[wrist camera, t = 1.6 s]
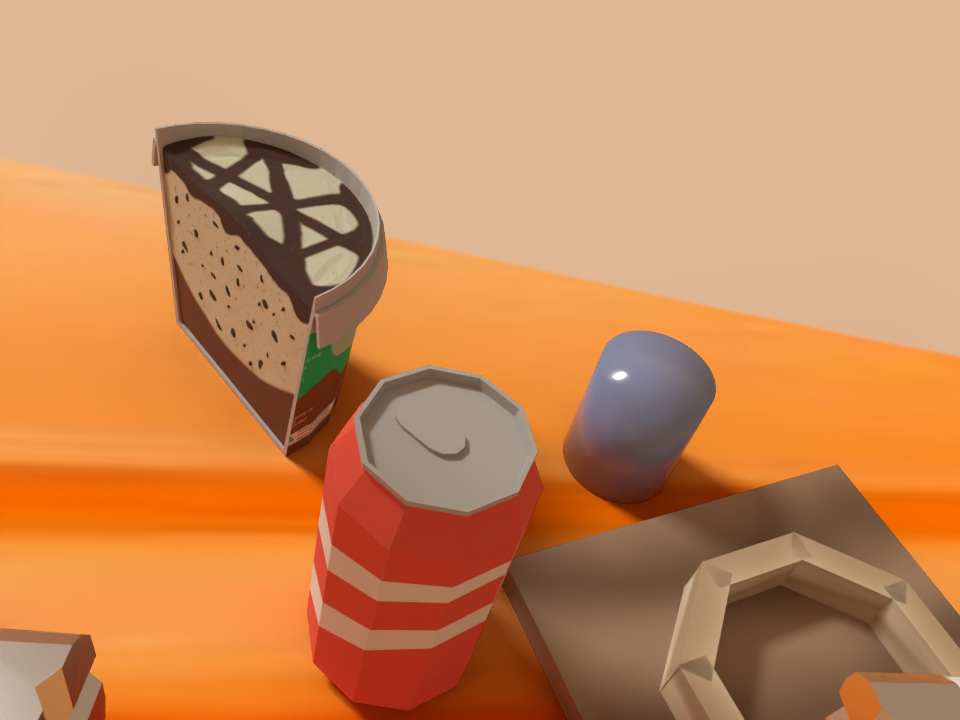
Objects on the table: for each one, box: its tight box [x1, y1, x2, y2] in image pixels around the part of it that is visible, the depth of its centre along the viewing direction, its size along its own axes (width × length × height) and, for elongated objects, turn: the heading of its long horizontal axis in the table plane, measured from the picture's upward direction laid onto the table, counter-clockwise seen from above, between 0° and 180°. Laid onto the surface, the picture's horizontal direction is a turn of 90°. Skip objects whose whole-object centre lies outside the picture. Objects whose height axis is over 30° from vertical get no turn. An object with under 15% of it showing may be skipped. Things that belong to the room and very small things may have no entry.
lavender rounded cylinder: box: [563, 331, 716, 504], centre depth 39 cm, size 5×5×6 cm
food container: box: [152, 122, 388, 457], centre depth 38 cm, size 12×6×10 cm, turn 41°
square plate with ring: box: [502, 465, 960, 720], centre depth 33 cm, size 18×18×3 cm
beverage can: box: [307, 365, 543, 711], centre depth 29 cm, size 6×6×12 cm
